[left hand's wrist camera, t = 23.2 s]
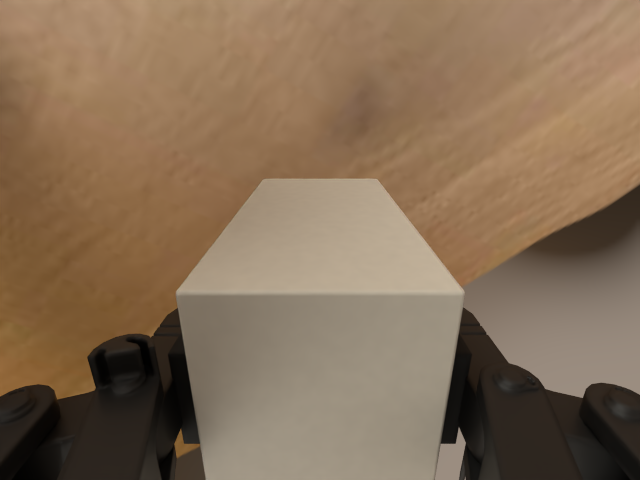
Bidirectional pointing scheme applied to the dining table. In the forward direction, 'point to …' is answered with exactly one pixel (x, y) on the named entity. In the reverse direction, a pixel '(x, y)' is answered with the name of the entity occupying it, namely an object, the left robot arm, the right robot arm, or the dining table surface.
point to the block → (320, 338)
